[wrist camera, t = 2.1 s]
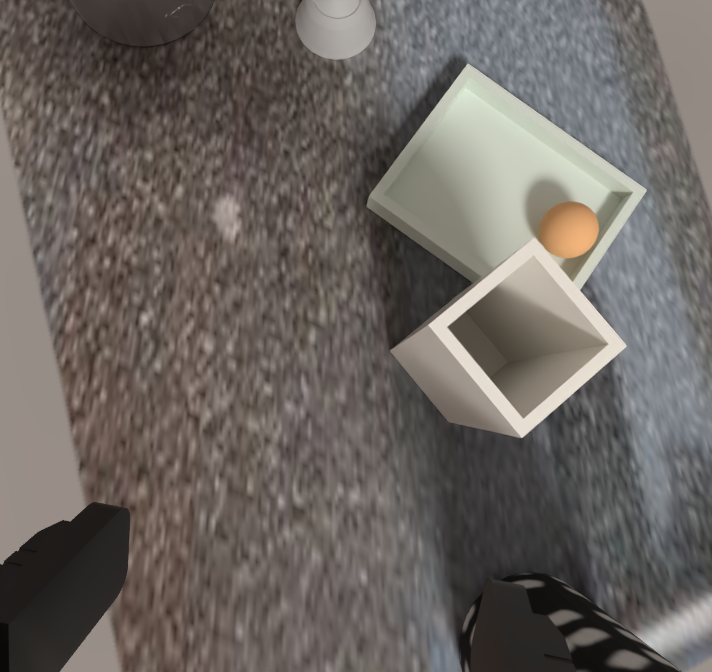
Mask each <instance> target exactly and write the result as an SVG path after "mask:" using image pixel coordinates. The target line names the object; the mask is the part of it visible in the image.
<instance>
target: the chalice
mask: <svg viewBox="0 0 712 672" xmlns="http://www.w3.org/2000/svg"><path fill="white" fill-rule="evenodd" d="M295 23H296V30H297V33H298V35H299V37H300V39H301V41H302V43H303V44H304V45H305V46H306V47H307V48H308V49H309V50H310V51H311V52H313V53H315V54H317V55H319V56H321V57H323V58H328V59H334V60H338V59H346V58H350V57H352V56H354V55H357V54H359V53H360V52H361V51H362V50H363V49H365V48H366V47H367V46H368V45H369V43H370V41H371V39H372V38H373V36H374V32H375V26H376V20H375V14H374V10H373V8H372V6H371V5H370V2H369V0H302V1H301V3H300V5H299V6H298V8H297V13H296V18H295Z"/></svg>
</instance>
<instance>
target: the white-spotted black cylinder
mask: <svg viewBox="0 0 712 672" xmlns="http://www.w3.org/2000/svg"><path fill="white" fill-rule="evenodd" d="M500 581H505V582H510V583H515V584H520V585H524V587H525V588H526V591H527V595H528V599H529V602H530V606H531V609H532V613H535V614H540V615H545V616H548V617H549V618H550V619H551V620H552V622H553V623H554V624H555V626H556V627H557V628H558V629H559V631H560V632H561V633H562V634H563V636H564V637H565V639H566V642H567V645H568V648H569V651H570V654H571V657H572V664H574V666H575V669H576V672H682V671H680V670H679V669H678V668H676V667H675V666H674V665H673V664H671V663H670V662H669V661H667V660H666V659H665V658H664V657H662V656H661V655H660V654H658V653H657V652H656V651H654V650H653V649H652V648H651V647H649V646H648V645H647V644H645V643H644V642H643V641H642V640H640V639H639V638H638V637H636V636H635V635H634V634H633V633H631V632H630V631H629V630H627V629H626V628H625V627H624V626H622V625H621V624H620V623H618V622H617V621H616V620H614V619H613V618H612V617H611V616H609V615H608V614H607V613H605V612H604V611H603V610H602V609H600V608H599V607H598V606H596V605H595V604H594V603H593V602H591V601H590V600H589V599H587V598H586V597H585V596H584V595H582V594H581V593H580V592H578V591H577V590H576V589H575V588H573V587H572V586H570V585H568V584H567V583H565V582H564V581H562V580H560V579H557V578H555V577H552V576H550V575H545V574H539V573H521V574H517V575H513V576H509V577H506V578H504V579H502V580H500ZM482 596H483V593H482V594H481V595H480V596H479V598H478V599H477V600H476V601H475V602H474V604H473V605H472V607H471V609H470V611H469V612H468V614H467V616H466V619H465V622H464V625H463V628H462V631H461V638H460V645H459V648H460V663H461V667H462V672H471V646H472V639H473V634H474V630H475V626H476V621H477V617H478V613H479V609H480V604H481V600H482Z"/></svg>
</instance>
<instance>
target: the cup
mask: <svg viewBox="0 0 712 672" xmlns="http://www.w3.org/2000/svg"><path fill="white" fill-rule="evenodd" d="M626 346H627V345H626V344H625V343H624V342H623V341H622V340H621V338H620V337H619V336H618V335H617V334H616V333H615V331H614V330H613V329H612V328H611V327H610V325H609V324H608V323H607V322H606V321H605V320H604V318H603V317H602V316H601V315H600V314H599V312H598V311H597V310H596V309H595V308H594V307H593V305H592V304H591V303H590V302H589V301H588V300H587V298H586V297H585V296H584V295H583V294H582V292H581V291H580V290H579V289H578V288H577V287H576V285H575V284H574V283H573V282H572V281H571V280H570V278H569V277H568V276H567V275H566V274H565V272H564V271H563V270H562V269H561V268H560V267H559V265H558V264H557V263H556V262H555V261H554V259H553V258H552V257H551V256H550V255H549V254H548V252H547V251H546V250H545V249H544V248H543V247H542V245H541V244H540V243H539V242H538V241H537V239H536V238H535V237H534V238H533V239H532V240H530V241H529V242H528V243H526V244H525V245H524V246H522V247H521V248H520V249H518V250H517V251H516V252H514V253H513V254H512V255H510V256H509V257H508V258H506V259H505V260H503V261H502V262H501V263H499V264H498V265H497V266H495V267H494V268H493V269H491V270H490V271H489V272H487V273H486V274H485V275H483V276H482V277H481V278H479V279H478V280H477V281H475V282H474V283H473V284H471V285H470V286H469V287H467V288H466V289H465V290H463V291H462V292H461V293H459V294H458V295H457V296H456V297H454V298H453V299H452V300H451V301H449V302H448V303H447V304H446V305H445V306H443V307H442V308H441V309H440V310H439V311H437V312H436V313H435V314H434V315H432V316H431V317H430V318H429V319H428V320H426V321H425V322H424V323H423V324H422V325H420V326H419V327H418V328H417V329H415V330H414V331H413V332H412V333H411V334H409V335H408V336H407V337H406V338H405V339H403V340H402V341H401V342H400V343H398V344H397V345H396V346H395V347H394V348H392V349H391V350H390V352H391V353H392V354H393V355H394V357H395V358H396V359H397V360H398V362H399V363H400V364H401V365H402V366H403V368H404V369H405V370H406V371H407V372H408V374H409V375H410V376H411V377H412V379H413V380H414V381H415V382H416V383H417V385H418V386H419V387H420V388H421V389H422V391H423V392H424V393H425V394H426V396H427V397H428V398H429V399H430V400H431V402H432V403H433V404H434V405H435V406H436V408H437V409H438V410H439V411H440V413H441V414H442V415H443V416H444V417H445V419H446V420H447V421H448V422H450V423H455V424H460V425H464V426H469V427H473V428H478V429H482V430H487V431H491V432H496V433H501V434H505V435H510V436H514V437H519V438H523V437H524V436H525V435H526V434H527V433H529V432H530V431H531V430H532V429H533V428H534V427H535V426H536V425H538V424H539V423H540V422H541V421H542V420H543V419H544V418H546V417H547V416H548V415H549V414H550V413H551V412H552V411H554V410H555V409H556V408H557V407H558V406H559V405H560V404H562V403H563V402H564V401H565V400H566V399H567V398H568V397H570V396H571V395H572V394H573V393H574V392H575V391H576V390H577V389H579V388H580V387H581V386H582V385H583V384H584V383H585V382H587V381H588V380H589V379H590V378H591V377H592V376H593V375H595V374H596V373H597V372H598V371H599V370H600V369H601V368H603V367H604V366H605V365H606V364H607V363H608V362H609V361H610V360H612V359H613V358H614V357H615V356H616V355H617V354H618V353H620V352H621V351H622V350H623V349H624V348H625V347H626Z"/></svg>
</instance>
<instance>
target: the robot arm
mask: <svg viewBox="0 0 712 672" xmlns="http://www.w3.org/2000/svg"><path fill="white" fill-rule="evenodd" d="M69 1H70V2H71V4H72V5H73V7H74V8H75V10H76V12H77V13H78V15H79V16H80V17H81V18H82V19H83V20H84V21H85V22H86V24H87V25H88V26H89V27H91V28H92V29H93V30H95V31H96V32H97V33H99V34H100V35H102V36H104V37H106V38H108V39H110V40H113V41H115V42H118V43H122V44H126V45H131V46H154V45H160V44H165V43H168V42H170V41H173V40H176V39H178V38H180V37H182V36H184V35H185V34H187V33H188V32H190V31H192V30H193V29H194V28H195V27H196V26H197V25H198V24H199V23H200V22H201V21H202V20H203V19H204V18H205V16H206V15H207V13H208V12H209V10H210V9H211V7H212V5H213V2H214V0H69ZM129 531H130V513H129V510H128V509H127V508H123V507H118V506H113V505H108V504H103V503H97V502H93V503H91V504H89V505H88V506H87V507H86V508H85V509H84V510H83V511H82V512H80V513H79V514H78V515H77V516H76V517H75V518H74V519H73V520H72V521H71V522H69V521H64V520H62V521H60V522H58V523H56V524H54V525H52V526H50V527H47V528H45V529H43V530H41V531H39V532H38V533H37V534H35V535H34V536H33V537H32V538H30V539H29V540H28V541H27V542H26V543H25V544H23V545H22V546H21V547H20V549H19V551H15V552H14V553H13V554H12V555H11V556H9V557H8V558H7V559H6V560H5V561H4V563H3V565H1V564H0V672H60V670H61V669H62V668H63V667H64V665H65V664H66V663H67V661H68V660H69V659H70V658H71V656H72V655H73V654H74V652H75V651H76V650H77V648H78V647H79V646H80V645H81V643H82V642H83V641H84V639H85V638H86V637H87V635H88V634H89V633H90V632H91V630H92V629H93V628H94V626H95V625H96V624H97V623H98V621H99V620H100V619H101V617H102V616H103V615H104V613H105V612H106V611H107V610H108V608H109V607H110V606H111V604H112V603H113V602H114V600H115V599H116V598H117V596H118V595H119V593H120V591H121V589H122V587H123V584H124V582H125V578H126V575H127V570H128V553H129ZM471 672H576V669H575V666H574V664H572V657H571V654H570V651H569V648H568V645H567V642H566V639H565V637H564V636H563V634H562V633H561V632H560V631H559V629H558V628H557V627H556V626H555V624H554V623H553V622H552V620H551V619H550V618H549V617H548V616H545V615H540V614H535V613H532V609H531V606H530V602H529V599H528V595H527V591H526V588H525V587H524V585H520V584H515V583H510V582H505V581H500V580H495V579H488V580H487V581H486V584H485V588H484V592H483V596H482V600H481V604H480V609H479V613H478V617H477V621H476V626H475V630H474V634H473V639H472V646H471Z"/></svg>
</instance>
